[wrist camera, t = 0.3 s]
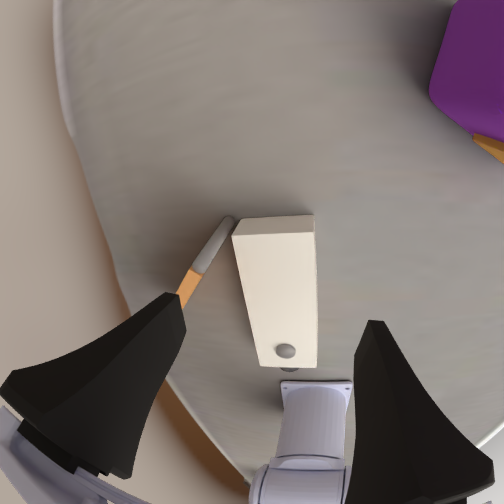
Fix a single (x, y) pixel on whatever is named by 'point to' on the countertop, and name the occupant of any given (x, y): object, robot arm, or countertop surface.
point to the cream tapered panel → (280, 288)
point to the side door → (204, 260)
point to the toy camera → (473, 72)
